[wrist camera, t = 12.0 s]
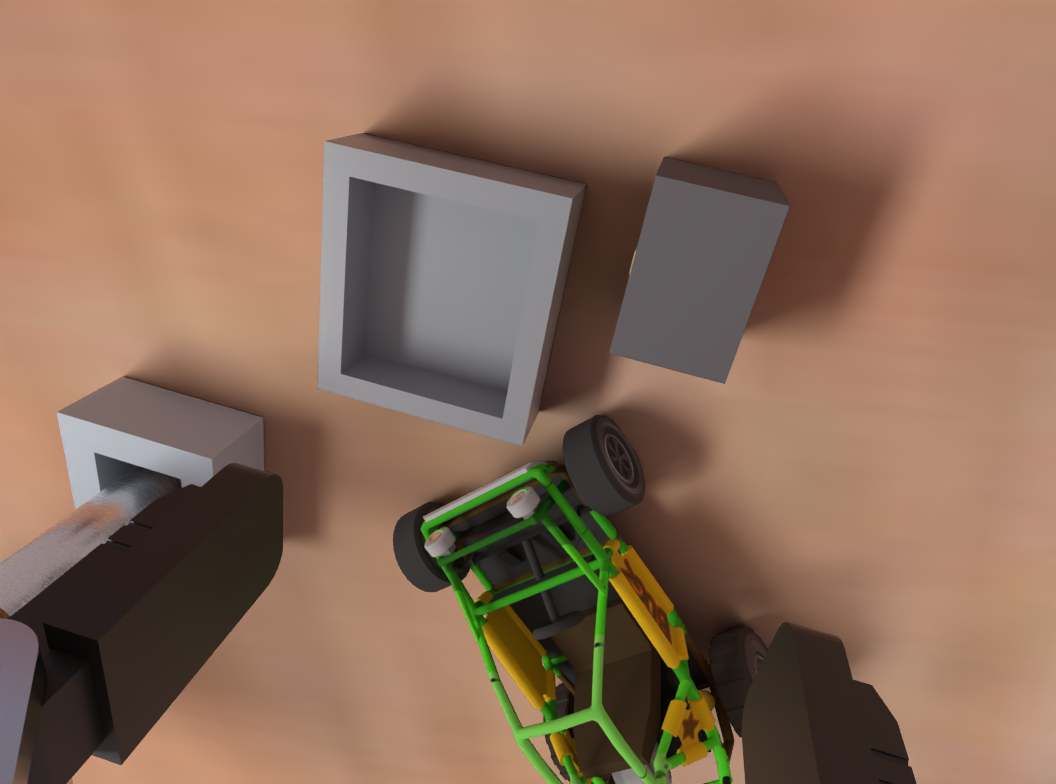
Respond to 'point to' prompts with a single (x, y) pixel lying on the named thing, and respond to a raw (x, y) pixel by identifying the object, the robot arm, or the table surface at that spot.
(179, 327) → the table surface
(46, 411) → the table surface
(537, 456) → the table surface
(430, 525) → the motor vehicle
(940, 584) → the table surface
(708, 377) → the block
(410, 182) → the tray
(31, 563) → the pin
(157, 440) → the socket
